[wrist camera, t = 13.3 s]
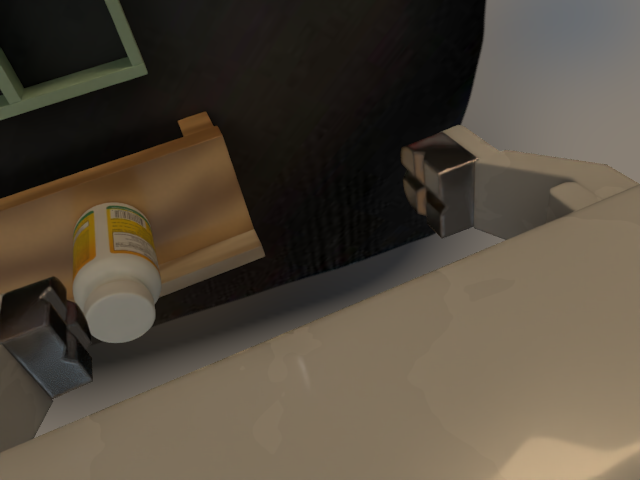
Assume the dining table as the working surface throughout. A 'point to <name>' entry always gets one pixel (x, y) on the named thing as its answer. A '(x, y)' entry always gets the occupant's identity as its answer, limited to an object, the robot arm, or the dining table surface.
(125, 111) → the dining table surface
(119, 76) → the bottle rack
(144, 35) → the dining table surface
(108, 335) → the supplement bottle
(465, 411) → the robot arm
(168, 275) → the windowsill ledge
